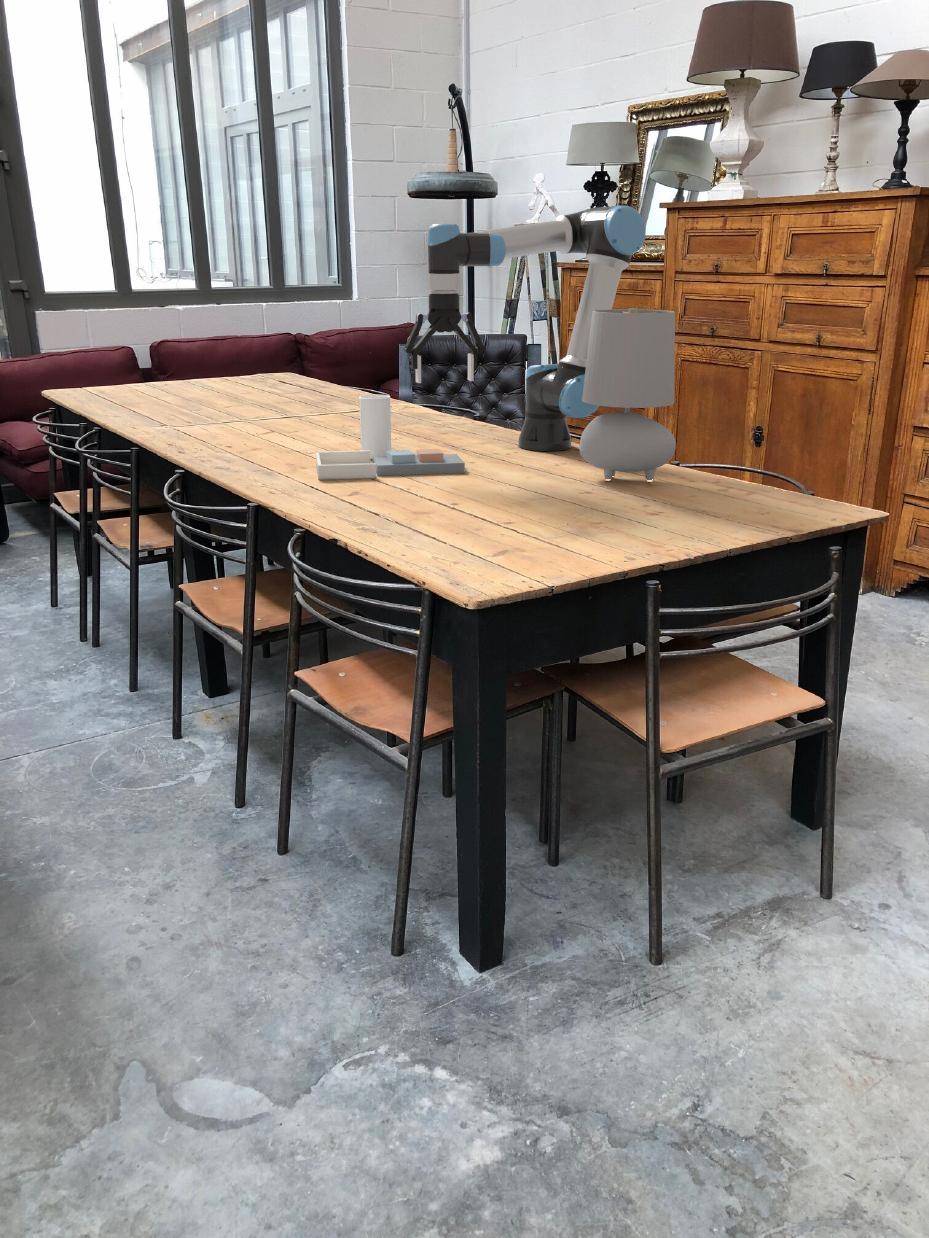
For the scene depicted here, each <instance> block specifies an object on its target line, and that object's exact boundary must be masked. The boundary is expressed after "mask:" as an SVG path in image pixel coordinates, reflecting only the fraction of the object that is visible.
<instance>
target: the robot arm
mask: <svg viewBox="0 0 929 1238" xmlns="http://www.w3.org/2000/svg"><path fill="white" fill-rule="evenodd" d="M646 232H647V231H646V223H645V221H644V220H643V217H642V215H641V213H640V212H639V211H638V210H637V209H635V208H634V207H632V206H629V205H621V204H617V205H614V206H611V205H609V206H602V207H601V206H599V207H598V206H597V207H592V208H588V209H583V210H581V211H577V212H573V213H569V214H565V215H558V216H557V218H556V219H555V220H549V221H543V222H537V223H529V224H522V225H515V226H514V225H513V226H508V227H501V228H500V227H499V228H492V229H486V230H479V231H474V232H473V231H471V232H461V231H460V226H459V225H458V224H456V223H455V224H454V223H435V224H434V223H433V224H431V225H429V227H428V232H427V233H428V234H427V244H426V246H427V257H428V259H427V260H428V263H427V265H428V291H430V293H429V294H428V313H427V314H424V313H419V312H418V313H416V315H415V322H414V326H413V328H412V329H411V332H410V334H409V337H408V338H407V341H406V343H405V346H404V348H403V352H404V353H406V354H409V355H410V357H411V358H410V359H411V363H410V364H411V369H413V370H415V383H417V384H422V355H419V353H420V352H421V351H422V349H423V348H424V347H425V346H426V344H427V343H428V341H429V340H430V339H431V338H432V337H433V335H434V334H436V332H437V333H445V332H446V333H453V332H454V333H455V334H456V335H457V337H458V338H459V339H460V341H461V342H462V343H463V344H464V346H465V347H466V348H467V349H468V350H469V352H470V353H467V381H469V382H474V381H475V380H474V376H475V375H474V372H475V370H474V368H477V366H478V354H479V353H482V352H484V351H485V349H486V348H485V346H484V344H483V341H482V339H481V336H480V335H479V332H478V331H477V328H476V326H475V324H474V320H473V313H471V312H465V313H461V312H460V294H459V293H458V291H460V268H461V267H489V268H491V267H498V266H500V265H502V264H503V262H504V260H506V259H512V258H519V257H527V256H530V255H539V254H547V253H552V252H558V253H560V254H562V255H564V254H585V258H586V259H587V261H588V263H589V266H588V270H587V274H586V277H585V281H584V286H583V289H582V293H581V297H580V300H579V305H578V309H577V313H576V316H575V320H574V321H575V322H574V324H573V329H572V333H571V335H570V340H569V345H568V348H567V352H566V356H564V357H563V358H562V359H560V360H559V361H558V363H554V364H553V363H550V364H549V363H548V364H534V365H530V366H528V367H527V370H526V375H525V383H526V384H525V413H524V414H525V417H524V418H525V419H524V422H523V425H522V427H521V431H520V434H519V437H518V444H517V445H518V447H519V448H520V449H523V450H528V451H538V452H555V451H556V452H559V451H564V450H570V449H571V448H572V437H571V433H570V429H569V426H568V422H567V417H568V418H572V419H573V418H575V419H583V418H587V417H590V416H591V415H592V414H595V412H596V411H597V410H598V408H599V407H600V406H598V405H592V404H588V403H585V402H583V401H582V395H583V387H584V379H585V370H586V362H587V353H588V345H589V337H590V328H591V320H592V311H593V310H605V309H613V307H614V302H615V298H616V294H617V290H618V287H619V283H620V279H621V275H622V272H623V271H624V270H626V269H627V268H628V267H629V266H630V263H631V260H632V256H633V255H634V254H636V253H637V251H639V250H640V249H641V248H642V247H643V244H644V243H645V240H646ZM461 320H462V321H463V323H465V325H466V327H467V329H468V331H469V334H470V336H471V338H472V340H473V342H474V344H473V342H472V341H471V340H470V338H468V336H467V335H466V333H465V332H464V331H463V330H462V328H461V327H460V325H459V324H460V322H461ZM426 321H428V323H429V324H430V325H429V326H428V327H427V329H426V331H425V332H424V333H423V335H422V337H421V338H420V339H419V340H418V342H417V343H416V341H417V338H418V335H419V334H420V332H421V328H422V326H423V324H425V322H426ZM415 343H416V344H415Z"/></svg>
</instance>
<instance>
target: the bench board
mask: <svg viewBox="0 0 929 1238" xmlns="http://www.w3.org/2000/svg"><path fill="white" fill-rule="evenodd" d="M372 463H376V477H377V476H378V477H379V476H403V475H404V476H407V475H435V474H436V475H440V474H463V473H464V474H465V470H466V469H465V467H466V466H465V465H466V464H465V462H464V461H463V459H462V458H461V456H459V455H458V454H457V453H446V454H445V453H443V461H434V462H419V460H418V459H417V454H415V462H408V463H391V462H390V461H388V460H387V459H386V456H373V459H372Z"/></svg>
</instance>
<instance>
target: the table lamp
mask: <svg viewBox="0 0 929 1238" xmlns="http://www.w3.org/2000/svg"><path fill="white" fill-rule="evenodd" d="M675 336H676V311H673V310H663V309H639V308H632V307H631V308H627V309H626V308H622V309H621V308H618V309H617V308H615V309H614V308H612V309H605V310H593V311H592V320H591V328H590V337H589V345H588V353H587V362H586V370H585V379H584V387H583V395H582V401H583V402H585V403H588V404H592V405H598V406H599V407H606V408H607V407H608V408H609V407H610V408H623V411H613V412H608V413H604V414H601V415H598V416H596V417H595V418H593V419H592V420H591V421H590V422H589V423H588V424H587V426H586V427H585V428H584V430H583V431H582V433H581V436H580V441H579V453H580V456H581V458H582V459H583V460H585V462H587V464H589V465H591V466H593V467H595V468H598V469H603V475H604V480H605V479H611V480H613V478H612V476H614V477H615V474H616V472H624V473H627V472H628V473H630V472H631V473H632V472H633V473H634V472H635V473H637V472H643V471H644V475H645V480H646V479H647V480H652V479H653V480H654V478H655V474H656V473H655V472H656V470H657V468H660V467H662V466H665V465H666V464H667V463H669V462H670V461H671V459H672V458H673V457H674V454H675V452H676V447H677V445H676V444H677V442H676V439H675V435H674V434H673V433H672V432H671V431H670V430H669V429H668V428H667V427H666V426H664V425H663V424H661V423H659V422H658V421H656V420H654V419H652V418H650V417H648V416H645V415H644V414H643V415H642V414H639V413H635V412H631V409H641V408H643V409H647V408H649V409H650V408H661V407H667V406H668V407H669V406H671V405H674V404H675V379H676V377H675V371H676V370H675V366H676V365H675V362H676V361H675V359H676V357H675V356H676V355H675V354H676V350H675V349H676V340H675V339H676V337H675Z"/></svg>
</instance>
